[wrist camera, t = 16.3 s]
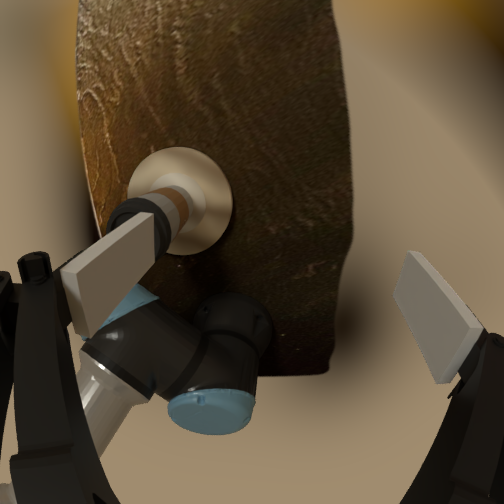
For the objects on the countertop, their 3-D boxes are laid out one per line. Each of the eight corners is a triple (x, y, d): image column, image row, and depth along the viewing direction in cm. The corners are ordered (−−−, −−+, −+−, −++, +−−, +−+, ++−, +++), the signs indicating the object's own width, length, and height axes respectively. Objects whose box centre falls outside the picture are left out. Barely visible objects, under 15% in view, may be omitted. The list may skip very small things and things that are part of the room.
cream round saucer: (228, 258, 50) (226, 262, 48) (133, 244, 51) (128, 247, 49) (238, 151, 43) (236, 152, 41) (132, 145, 44) (127, 146, 42)
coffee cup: (177, 238, 48) (139, 282, 34) (142, 203, 46) (92, 235, 32) (211, 204, 45) (179, 239, 31) (173, 167, 43) (126, 186, 29)
